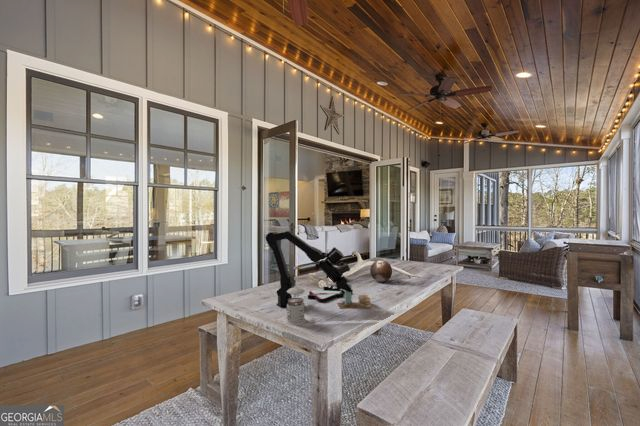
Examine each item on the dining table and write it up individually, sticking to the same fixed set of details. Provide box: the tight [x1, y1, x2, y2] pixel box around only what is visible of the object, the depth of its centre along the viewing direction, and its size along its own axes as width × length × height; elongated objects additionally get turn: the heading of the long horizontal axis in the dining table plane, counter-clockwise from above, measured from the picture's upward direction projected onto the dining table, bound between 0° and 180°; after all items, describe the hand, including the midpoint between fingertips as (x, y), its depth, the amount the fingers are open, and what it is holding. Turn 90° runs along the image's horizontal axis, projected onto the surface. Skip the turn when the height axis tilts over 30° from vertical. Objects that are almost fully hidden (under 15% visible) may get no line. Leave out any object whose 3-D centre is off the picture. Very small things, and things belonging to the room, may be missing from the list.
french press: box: [284, 266, 307, 326], centre depth 139 cm, size 10×12×25 cm
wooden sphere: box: [369, 259, 393, 283], centre depth 213 cm, size 15×15×15 cm
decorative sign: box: [307, 283, 354, 304], centre depth 177 cm, size 18×4×30 cm
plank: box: [344, 283, 352, 304], centre depth 157 cm, size 3×2×11 cm
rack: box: [336, 294, 372, 310], centre depth 158 cm, size 16×10×6 cm, turn 95°
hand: (350, 290), depth 157 cm, fingers closed on plank, 2 cm apart
